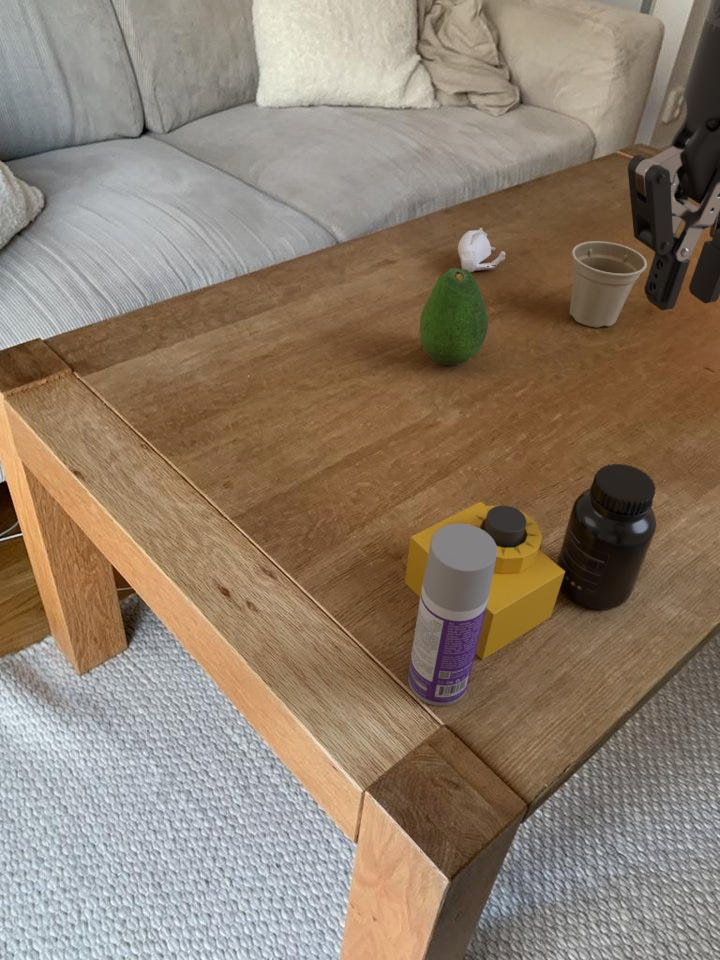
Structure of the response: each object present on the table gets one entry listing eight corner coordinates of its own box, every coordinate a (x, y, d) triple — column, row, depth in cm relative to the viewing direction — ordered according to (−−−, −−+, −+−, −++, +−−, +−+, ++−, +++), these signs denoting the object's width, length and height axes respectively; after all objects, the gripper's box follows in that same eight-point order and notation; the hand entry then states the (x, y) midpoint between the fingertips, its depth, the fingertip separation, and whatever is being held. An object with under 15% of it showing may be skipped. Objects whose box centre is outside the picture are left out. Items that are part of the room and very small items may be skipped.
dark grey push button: (530, 538, 66) (535, 522, 65) (502, 553, 65) (506, 538, 64) (503, 515, 68) (507, 500, 67) (475, 530, 67) (478, 514, 66)
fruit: (494, 361, 100) (511, 270, 92) (457, 388, 95) (472, 294, 87) (440, 337, 103) (452, 248, 96) (402, 361, 99) (412, 269, 91)
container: (472, 664, 65) (504, 530, 56) (461, 713, 62) (493, 579, 52) (415, 650, 66) (436, 515, 56) (401, 697, 63) (422, 562, 53)
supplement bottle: (584, 544, 76) (617, 444, 69) (645, 588, 73) (688, 487, 65) (536, 578, 73) (565, 476, 65) (598, 625, 69) (637, 523, 61)
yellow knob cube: (555, 614, 70) (575, 553, 65) (482, 660, 66) (497, 598, 61) (476, 544, 76) (488, 483, 71) (404, 582, 72) (412, 520, 67)
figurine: (519, 244, 121) (500, 276, 113) (481, 259, 125) (460, 291, 116) (503, 207, 119) (483, 237, 110) (465, 223, 122) (442, 254, 114)
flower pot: (623, 303, 113) (640, 244, 107) (634, 338, 106) (653, 277, 100) (555, 296, 113) (568, 237, 108) (561, 331, 106) (576, 270, 100)
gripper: (722, 42, 40) (628, 344, 52) (925, 33, 45) (798, 313, 56) (631, 8, 46) (564, 289, 57) (822, 2, 50) (724, 264, 61)
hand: (681, 299), depth 56 cm, fingers open, 3 cm apart
